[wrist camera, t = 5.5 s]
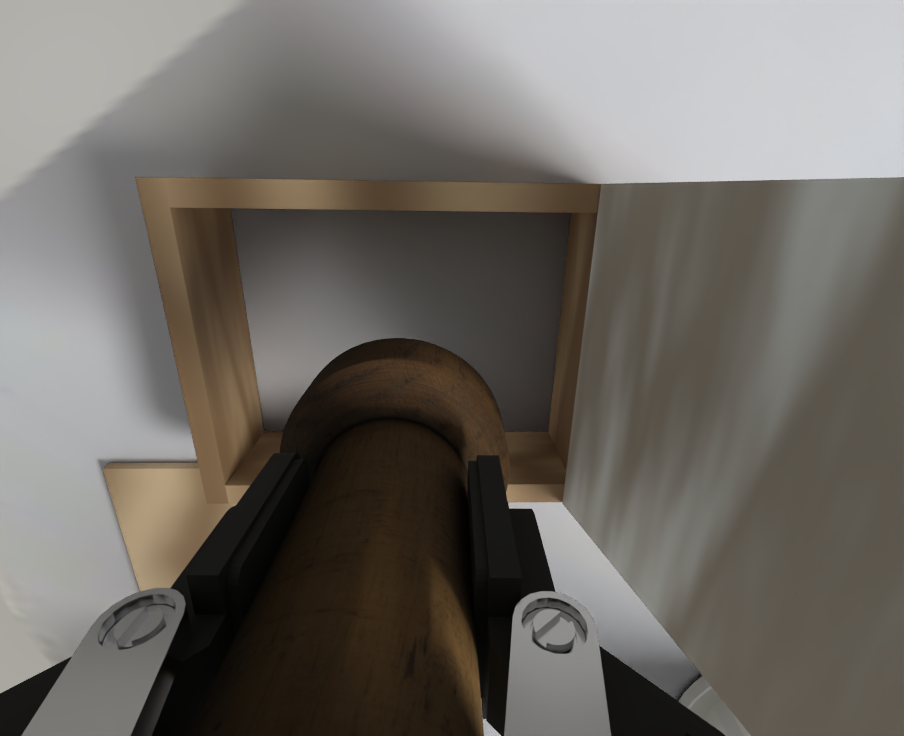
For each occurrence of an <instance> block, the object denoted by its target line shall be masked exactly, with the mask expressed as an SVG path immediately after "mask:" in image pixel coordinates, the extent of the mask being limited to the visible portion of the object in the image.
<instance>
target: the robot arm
mask: <svg viewBox="0 0 904 736" xmlns="http://www.w3.org/2000/svg"><path fill="white" fill-rule="evenodd" d="M309 486H310V480H309V471H308V463H307V460H306V459H300V456H299V454H298V453H274V454H273V455H272V456H271V457H270V459H269V460H268V462H267V463H266V464H265V466H264V467H263V468H262V470H261V471H260V473H259V474H258V475H257V477H256V478H255V480H254V481H253V482H252V484H251V485H250V487H249V488H248V489H247V491H246V492H245V493H244V495H243V496H242V498H241V499H240V500H239V502H238V503H237V505H236V506H233V507H231V508H230V509H229V510H228V511H227V512H226V513H225V514H224V516H223V517H222V518H221V520H220V521H219V523H218V524H217V525H216V527H215V528H214V529H213V531H212V532H211V533H210V535H209V536H208V537H207V539H206V540H205V542H204V543H203V544H202V546H201V547H200V548H199V550H198V551H197V552H196V554H195V555H194V556H193V558H192V559H191V561H190V562H189V563H188V565H187V566H186V567H185V569H184V570H183V571H182V573H181V574H180V575H179V577H178V578H177V580H176V581H175V582H174V584H173V585H172V586H171V588H153V589H148V590H144V591H140V592H138V593H135V594H133V595H131V596H128V597H126V598H124V599H123V600H121V601H119V602H118V603H116V604H114V605H113V606H111V607H110V608H109V609H108V610H107V611H105V612H104V613H103V614H102V615H101V616H100V617H99V618H98V619H97V620H96V622H95V623H94V624H93V625H92V626H91V628H90V630H89V631H88V633H87V634H86V636H85V637H84V639H83V640H82V642H81V644H80V645H79V647H78V648H77V650H76V651H75V653H74V654H73V656H72V657H70V658H68V659H66V660H64V661H62V662H60V663H59V664H57V665H55V666H53V667H51V668H49V669H47V670H45V671H43V672H41V673H39V674H37V675H35V676H33V677H32V678H30V679H28V680H26V681H24V682H22V683H20V684H18V685H16V686H14V687H12V688H10V689H9V690H7V691H5V692H3V693H0V736H185V735H186V733H187V731H188V729H189V727H190V725H191V723H192V721H193V719H194V717H195V715H196V713H197V711H198V709H199V708H200V706H201V704H202V702H203V700H204V698H205V696H206V694H207V692H208V690H209V688H210V686H211V684H212V682H213V680H214V678H215V676H216V674H217V672H218V670H219V668H220V666H221V664H222V662H223V660H224V658H225V656H226V654H227V652H228V650H229V648H230V646H231V644H232V642H233V640H234V638H235V636H236V634H237V632H238V630H239V628H240V626H241V625H242V623H243V621H244V619H245V617H246V614H247V612H248V610H249V608H250V606H251V604H252V602H253V600H254V598H255V596H256V594H257V593H258V591H259V588H260V586H261V584H262V582H263V580H264V578H265V576H266V574H267V572H268V570H269V568H270V566H271V564H272V562H273V560H274V558H275V556H276V554H277V552H278V550H279V548H280V546H281V544H282V542H283V540H284V538H285V536H286V534H287V532H288V530H289V528H290V525H291V523H292V521H293V519H294V517H295V515H296V513H297V511H298V509H299V507H300V505H301V502H302V500H303V498H304V496H305V494H306V492H307V490H308V488H309ZM467 506H468V523H469V541H470V558H471V575H472V592H473V608H474V625H475V630H476V640H477V653H478V666H479V680H480V693H481V699H482V716H483V719H487V722H488V723H489V724H490V725H491V726H492V727H493V728H494V729H495V730H496V731H497V732H498V733H499V734H500V735H501V736H751V735H750V734H749V732H748V731H747V730H746V729H745V728H744V726H743V725H742V724H741V723H740V721H739V720H738V719H737V718H736V716H735V715H734V714H733V713H732V712H731V710H730V709H729V708H728V707H727V705H726V704H725V703H724V702H723V700H722V699H721V698H720V697H719V696H718V694H717V693H716V692H715V691H714V689H713V688H712V687H711V686H710V684H709V683H708V682H707V681H706V680H705V678H704V677H703V676H702V677H700V678H699V679H698V680H696V681H695V682H694V683H693V684H692V685H691V686H690V687H689V688H688V689H687V690H686V691H685V692H684V694H683V695H682V697H681V698H680V700H679V701H677V700H675V699H674V698H672V697H671V696H670V695H668V694H667V693H665V692H664V691H663V690H661V689H660V688H658V687H657V686H655V685H654V684H653V683H651V682H650V681H648V680H647V679H646V678H644V677H643V676H641V675H640V674H638V673H637V672H636V671H634V670H633V669H631V668H630V667H629V666H627V665H626V664H624V663H623V662H621V661H620V660H619V659H617V658H616V657H614V656H613V655H612V654H610V653H609V652H607V651H606V650H604V649H603V648H602V647H600V646H599V640H598V633H597V629H596V625H595V622H594V619H593V618H592V616H591V615H590V614H589V612H588V611H587V609H586V608H585V607H583V606H582V605H581V604H580V603H579V602H578V601H576V600H574V599H572V598H571V597H569V596H567V595H564V594H561V593H557V592H555V589H554V585H553V581H552V577H551V574H550V570H549V566H548V563H547V559H546V555H545V551H544V548H543V544H542V540H541V537H540V533H539V529H538V525H537V522H536V518H535V514H534V512H533V510H532V509H509V506H508V501H507V495H506V490H505V485H504V480H503V474H502V469H501V464H500V458H499V455H477V458H476V461H468V487H467Z"/></svg>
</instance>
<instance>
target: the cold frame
mask: <svg viewBox="0 0 904 736" xmlns="http://www.w3.org/2000/svg"><path fill="white" fill-rule="evenodd" d="M135 178H136V182H137V187H138V192H139V196H140V201H141V205H142V210H143V214H144V219H145V223H146V228H147V233H148V237H149V242H150V246H151V251H152V255H153V260H154V265H155V269H156V274H157V278H158V283H159V287H160V292H161V297H162V301H163V306H164V310H165V315H166V319H167V324H168V329H169V333H170V338H171V342H172V347H173V351H174V356H175V360H176V365H177V370H178V374H179V379H180V383H181V388H182V392H183V397H184V402H185V406H186V411H187V415H188V420H189V424H190V429H191V434H192V438H193V443H194V447H195V452H196V456H197V461H198V465H199V470H200V475H201V479H202V484H203V488H204V493H205V497H206V502H207V504H237V503H238V502H239V500H240V499H241V498H242V496H243V495H244V493H245V492H246V491H247V489H248V488H249V487H250V485H251V484H252V482H253V481H254V480H255V478H256V477H257V475H258V474H259V473H260V471H261V470H262V468H263V467H264V466H265V464H266V463H267V462H268V460H269V459H270V457H271V456H272V455H273V454H274V453H280V445H281V439H282V435H283V432H264V426H263V419H262V413H261V406H260V400H259V393H258V387H257V380H256V373H255V367H254V360H253V354H252V347H251V341H250V334H249V328H248V321H247V315H246V308H245V302H244V295H243V289H242V282H241V276H240V269H239V262H238V256H237V249H236V243H235V236H234V230H233V223H232V217H231V210H230V208H251V209H327V210H403V211H479V212H555V213H571V215H570V225H569V234H568V244H567V254H566V264H565V274H564V284H563V293H562V303H561V313H560V323H559V333H558V343H557V352H556V362H555V372H554V382H553V392H552V402H551V411H550V421H549V431H548V432H505V435H506V439H507V444H508V450H509V460H510V474H509V482H508V487H507V491H506V495H507V501H508V502H562V503H563V505H564V506H565V507H566V508H567V510H568V511H569V512H570V513H571V515H572V516H573V517H574V518H575V519H576V521H577V522H578V523H579V524H580V526H581V527H582V528H583V529H584V531H585V532H586V533H587V534H588V535H589V537H590V538H591V539H592V540H593V542H594V543H595V544H596V545H597V547H598V548H599V549H600V550H601V551H602V553H603V554H604V555H605V556H606V558H607V559H608V560H609V561H610V563H611V564H612V565H613V566H614V567H615V569H616V570H617V571H618V572H619V574H620V575H621V576H622V577H623V579H624V580H625V581H626V582H627V583H628V585H629V586H630V587H631V588H632V590H633V591H634V592H635V593H636V595H637V596H638V597H639V598H640V599H641V601H642V602H643V603H644V604H645V606H646V607H647V608H648V609H649V611H650V612H651V613H652V614H653V615H654V617H655V618H656V619H657V620H658V622H659V623H660V624H661V625H662V627H663V628H664V629H665V630H666V631H667V633H668V634H669V635H670V636H671V638H672V639H673V640H674V641H675V643H676V644H677V645H678V646H679V647H680V649H681V650H682V651H683V652H684V654H685V655H686V656H687V657H688V659H689V660H690V661H691V662H692V663H693V665H694V666H695V667H696V668H697V670H698V671H699V672H700V673H701V675H702V676H703V677H704V678H705V680H706V681H707V682H708V683H709V684H710V686H711V687H712V688H713V689H714V691H715V692H716V693H717V694H718V696H719V697H720V698H721V699H722V700H723V702H724V703H725V704H726V705H727V707H728V708H729V709H730V710H731V712H732V713H733V714H734V715H735V716H736V718H737V719H738V720H739V721H740V723H741V724H742V725H743V726H744V728H745V729H746V730H747V731H748V732H749V734H750V735H751V736H904V177H901V178H855V179H809V180H763V181H717V182H671V183H625V184H563V183H496V182H430V181H363V180H296V179H229V178H162V177H135Z"/></svg>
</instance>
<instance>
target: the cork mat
mask: <svg viewBox="0 0 904 736" xmlns="http://www.w3.org/2000/svg"><path fill="white" fill-rule="evenodd" d="M103 473H104V476H105V479H106V482H107V486H108V489H109V492H110V495H111V499H112V502H113V505H114V508H115V512H116V515H117V518H118V521H119V524H120V528H121V531H122V534H123V537H124V541H125V544H126V547H127V550H128V554H129V557H130V560H131V563H132V567H133V570H134V573H135V576H136V579H137V583H138V586H139V589H140V591H144V590H148V589H153V588H171V586H172V585H173V584H174V582H175V581H176V580H177V578H178V577H179V575H180V574H181V573H182V571H183V570H184V569H185V567H186V566H187V565H188V563H189V562H190V561H191V559H192V558H193V556H194V555H195V554H196V552H197V551H198V550H199V548H200V547H201V546H202V544H203V543H204V542H205V540H206V539H207V537H208V536H209V535H210V533H211V532H212V531H213V529H214V528H215V527H216V525H217V524H218V523H219V521H220V520H221V518H222V517H223V516H224V514H225V513H226V512H227V511H228V510H229V509H230V508H231V507H233V506H236V505H237V504H207V502H206V497H205V493H204V488H203V484H202V479H201V475H200V470H199V465H198V463H109V464H108V465H106V466H105V467H104V468H103Z"/></svg>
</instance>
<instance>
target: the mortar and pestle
mask: <svg viewBox="0 0 904 736" xmlns="http://www.w3.org/2000/svg"><path fill="white" fill-rule="evenodd" d="M280 453H298V454H299V456H300V459H306V460H307V463H308V471H309V480H310V486H309V488H308V490H307V492H306V494H305V496H304V498H303V500H302V502H301V505H300V507H299V509H298V511H297V513H296V515H295V517H294V519H293V521H292V523H291V525H290V528H289V530H288V532H287V534H286V536H285V538H284V540H283V542H282V544H281V546H280V548H279V550H278V552H277V554H276V556H275V558H274V560H273V562H272V564H271V566H270V568H269V570H268V572H267V574H266V576H265V578H264V580H263V582H262V584H261V586H260V588H259V591H258V593H257V594H256V596H255V598H254V600H253V602H252V604H251V606H250V608H249V610H248V612H247V614H246V617H245V619H244V621H243V623H242V625H241V626H240V628H239V630H238V632H237V634H236V636H235V638H234V640H233V642H232V644H231V646H230V648H229V650H228V652H227V654H226V656H225V658H224V660H223V662H222V664H221V666H220V668H219V670H218V672H217V674H216V676H215V678H214V680H213V682H212V684H211V686H210V688H209V690H208V692H207V694H206V696H205V698H204V700H203V702H202V704H201V706H200V708H199V709H198V711H197V713H196V715H195V717H194V719H193V721H192V723H191V725H190V727H189V729H188V731H187V733H186V735H185V736H484V733H483V719H482V706H481V693H480V680H479V666H478V653H477V640H476V630H475V625H474V608H473V592H472V575H471V558H470V541H469V523H468V506H467V487H468V461H476V458H477V455H499V458H500V464H501V469H502V474H503V480H504V485H505V490H506V491H507V487H508V482H509V474H510V460H509V450H508V444H507V439H506V435H505V432H504V428H503V423H502V419H501V415H500V411H499V408H498V405H497V403H496V400H495V398H494V396H493V394H492V392H491V390H490V389H489V387H488V385H487V384H486V382H485V381H484V380H483V378H482V377H481V376H480V375H479V374H478V372H477V371H476V370H475V369H474V368H473V367H471V366H470V365H469V364H468V363H467V362H466V361H464V360H463V359H462V358H460V357H459V356H457V355H456V354H454V353H452V352H450V351H448V350H446V349H444V348H442V347H440V346H437V345H434V344H431V343H428V342H424V341H420V340H415V339H405V338H392V339H381V340H375V341H371V342H367V343H364V344H361V345H358V346H356V347H353V348H351V349H349V350H347V351H345V352H344V353H342V354H340V355H339V356H338V357H336V358H335V359H333V360H332V361H331V362H330V363H329V364H328V365H327V366H326V367H325V368H324V369H323V370H322V371H321V372H320V373H319V374H318V375H317V377H316V378H315V379H314V381H313V382H312V383H311V385H310V386H309V388H308V389H307V390H306V392H305V393H304V394H303V396H302V397H301V399H300V400H299V401H298V403H297V404H296V406H295V407H294V409H293V411H292V413H291V415H290V417H289V419H288V421H287V423H286V426H285V429H284V432H283V435H282V439H281V445H280Z"/></svg>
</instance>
